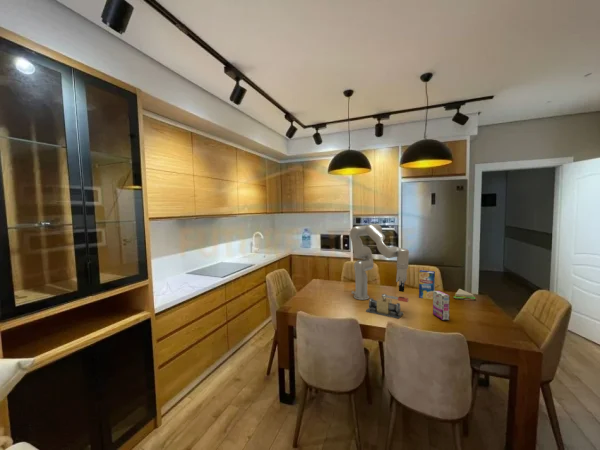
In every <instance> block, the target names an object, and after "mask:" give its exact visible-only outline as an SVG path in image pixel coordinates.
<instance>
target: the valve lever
mask: <svg viewBox="0 0 600 450" xmlns="http://www.w3.org/2000/svg"><path fill="white" fill-rule="evenodd" d="M381 298H386V299H392V300H397V302H404V303H408V302H409V297H404V296H393V295H389V294H386V293H381Z"/></svg>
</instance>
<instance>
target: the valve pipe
mask: <svg viewBox="0 0 600 450" xmlns="http://www.w3.org/2000/svg"><path fill="white" fill-rule="evenodd" d="M392 300H393V299H391V298H382V297H379V298H378V299H377V300H376V299H374V298H372V297H369V299H368V308H367V309H366V310H365V312H366V313H370V314H375V315H380V316H384V317H389V318H393V319H400V318H401V317H402V316H403V314H404V311H401V303H400V302H396V303H393V302H392Z"/></svg>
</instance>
